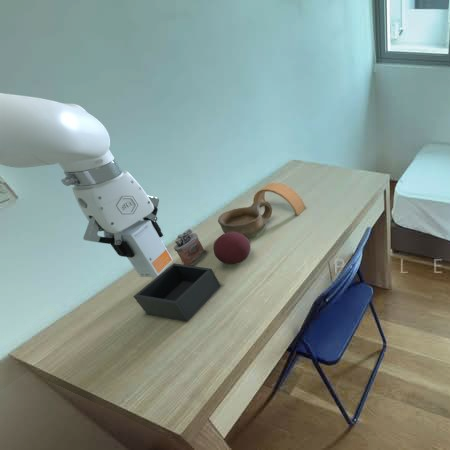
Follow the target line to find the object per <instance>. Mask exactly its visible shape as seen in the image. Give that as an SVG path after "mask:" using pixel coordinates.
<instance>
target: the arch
mask: <svg viewBox="0 0 450 450" xmlns="http://www.w3.org/2000/svg"><path fill="white" fill-rule="evenodd" d="M266 192H268V193H269V192H270V193H273V194H276V195H278V196H280V197H281V198H283V200H285V201H286V202H287V203H288V204H289V206H290V207H291V208H292V209H293V212H294V214H295V216H299V215H300V214H302V213H303V212H304V211H305V210H306V204H305V202H304V200H303V199H302V198H301V196H300V195H299V194H298V192H297V191H295V190H294V189H292V187H289V186H288V185H286V184H284V183H280V182H272V183H271V182H270V183H268V184H267V185H264V187H262V188H261V189H260V190H258V191H257V192H255V194H254V196H253V200H252V201H253V202H252V204H253V203H254V202H255V201H259V200H262V201H266V196H265V195H266Z"/></svg>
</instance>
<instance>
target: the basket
mask: <svg viewBox="0 0 450 450" xmlns="http://www.w3.org/2000/svg"><path fill="white" fill-rule="evenodd" d="M221 287H222V285H221V284H220V281H219V279H218V278H217V275H216V274H215V272H214V270H213V268H211V267H203V266H196V265H194V266H190V265H184V263H183V264H182V263H177V262H176V263H175V262H174V263H173V262H172V263H171V264H170V265H169V266H168V267H166V268H165V269H164V270H163V271H162V272H161V273H160V274H159V276H158V277H154V279H152V280H151V281H150V282H149V283H148V284H147V285H145V286H144V287H143V288H142V289H140V290H139V291H138V292H137V293H135V294H134V295H133V296H132V297H133V298H134V299H135V301H136V303H138V305H139V306H140V307H141V308H142V310H143V312H144V313H145V314H146V315H148V316H153V317H160V318H165V319H170V320H175V321H181V322H185V323H188V322H189V321H190V319H192V317H194V315H195V314H196V313H197V312H198V311H199V310H200V309H201V308H202V307H203V306H204V305H205V304H206V302H208V301H209V300H210V298H212V296H213V295H214V294H215V293H216V292H217V291H218V290H219V289H220V288H221Z"/></svg>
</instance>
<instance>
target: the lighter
mask: <svg viewBox="0 0 450 450" xmlns="http://www.w3.org/2000/svg"><path fill="white" fill-rule="evenodd" d="M174 243H175V246H174V247H173V249H174V251H175V252H176V253H177V255H178V257H179V259H180V260H181V262H182V263H183V265H190V266H196V265H197V264H198V263H199V262H201V260H202V259H203V258H205V256H206V254H207V251H206V250H205V249H204V247H203V245H202V243H201V241H200V239H199V236H198V234H197V233H195V232H193V229H192V228H188V229H186V230H185V231H184V232H183V233H182V234H181V233H179V234H178V235H177V238H175V239H174Z"/></svg>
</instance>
